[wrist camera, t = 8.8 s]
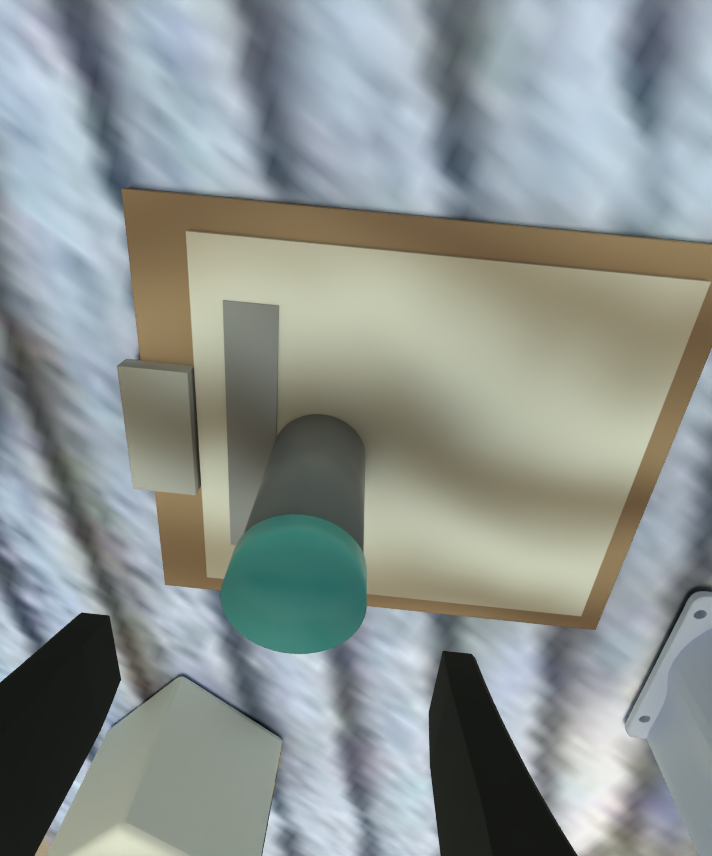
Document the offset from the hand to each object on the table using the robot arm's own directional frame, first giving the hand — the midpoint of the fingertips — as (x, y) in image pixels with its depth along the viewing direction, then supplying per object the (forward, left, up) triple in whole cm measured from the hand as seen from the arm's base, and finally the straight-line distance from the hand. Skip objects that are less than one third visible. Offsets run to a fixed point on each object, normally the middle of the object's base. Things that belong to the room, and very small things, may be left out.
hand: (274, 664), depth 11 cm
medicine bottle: (-19, +6, -10) cm, 22 cm away
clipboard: (+1, -3, -10) cm, 10 cm away
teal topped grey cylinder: (0, 0, -9) cm, 9 cm away
